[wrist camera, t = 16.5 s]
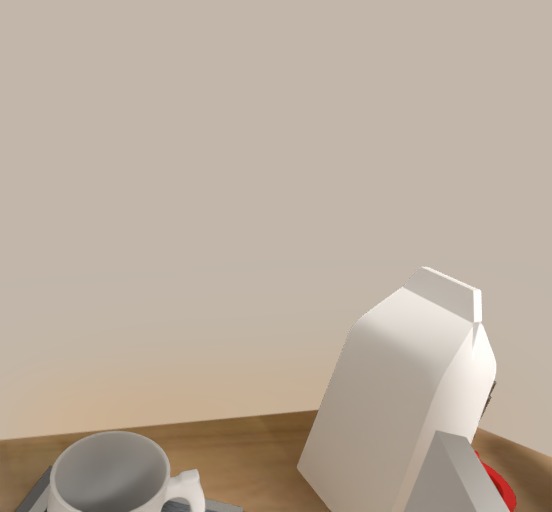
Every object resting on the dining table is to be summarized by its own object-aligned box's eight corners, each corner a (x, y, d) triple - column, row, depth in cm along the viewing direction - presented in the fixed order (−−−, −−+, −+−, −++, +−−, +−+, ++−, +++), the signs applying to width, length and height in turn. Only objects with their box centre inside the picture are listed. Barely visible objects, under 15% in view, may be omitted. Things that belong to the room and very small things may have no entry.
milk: (296, 467, 47) (363, 253, 41) (364, 444, 54) (431, 258, 48) (372, 563, 38) (476, 307, 32) (443, 521, 45) (539, 304, 38)
